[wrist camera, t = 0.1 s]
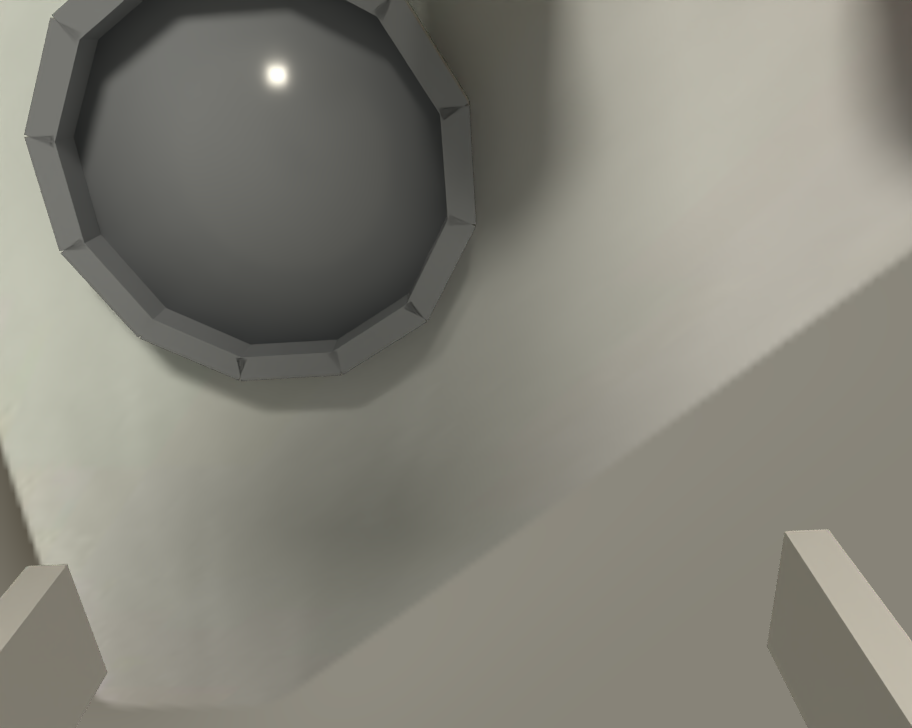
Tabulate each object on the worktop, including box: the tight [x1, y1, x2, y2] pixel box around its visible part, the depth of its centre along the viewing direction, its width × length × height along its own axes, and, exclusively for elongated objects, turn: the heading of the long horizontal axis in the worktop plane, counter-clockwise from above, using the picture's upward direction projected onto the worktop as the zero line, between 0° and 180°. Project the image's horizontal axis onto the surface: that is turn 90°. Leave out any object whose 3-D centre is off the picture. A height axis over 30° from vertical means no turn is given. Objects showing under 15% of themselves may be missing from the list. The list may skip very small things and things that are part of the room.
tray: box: [24, 0, 476, 381], centre depth 36 cm, size 21×21×3 cm
